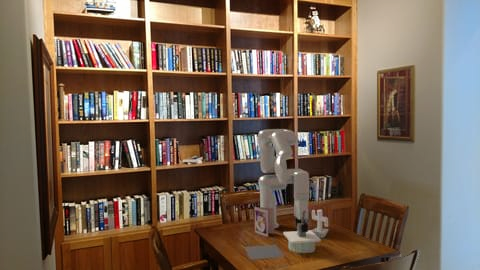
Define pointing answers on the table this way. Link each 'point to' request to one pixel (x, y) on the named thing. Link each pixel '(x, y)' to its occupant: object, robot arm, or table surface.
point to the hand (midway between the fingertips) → (301, 228)
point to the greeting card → (264, 221)
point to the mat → (263, 252)
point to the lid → (301, 236)
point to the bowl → (302, 247)
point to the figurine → (320, 224)
